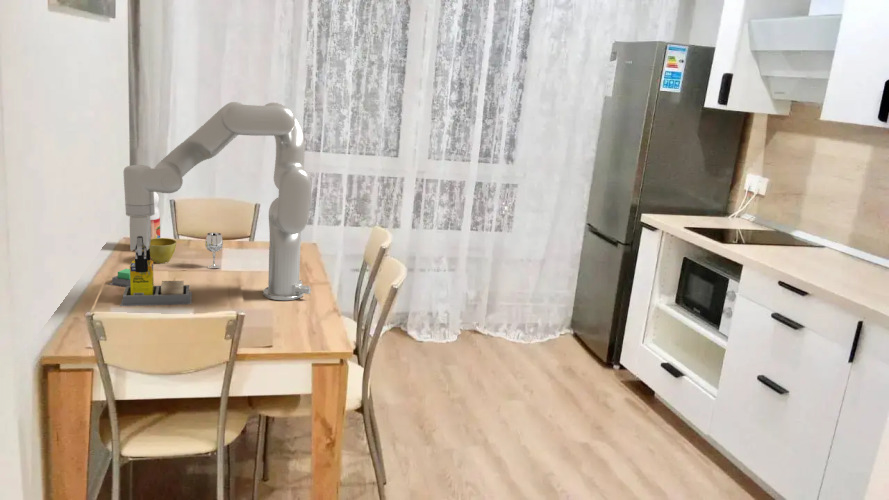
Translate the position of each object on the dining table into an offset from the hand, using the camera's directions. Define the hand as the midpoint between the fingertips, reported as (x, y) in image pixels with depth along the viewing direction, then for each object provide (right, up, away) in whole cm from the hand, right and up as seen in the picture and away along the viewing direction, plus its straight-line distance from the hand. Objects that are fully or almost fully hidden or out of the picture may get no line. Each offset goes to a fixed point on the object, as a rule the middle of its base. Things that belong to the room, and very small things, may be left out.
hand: (143, 266), depth 199 cm
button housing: (-11, -6, +15) cm, 20 cm away
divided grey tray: (+3, -10, +4) cm, 11 cm away
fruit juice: (-23, +5, +55) cm, 59 cm away
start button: (-11, -4, +15) cm, 19 cm away
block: (+7, -9, +5) cm, 13 cm away
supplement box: (-1, -10, +3) cm, 10 cm away
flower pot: (-12, +1, +42) cm, 44 cm away
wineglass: (+7, -1, +41) cm, 41 cm away
